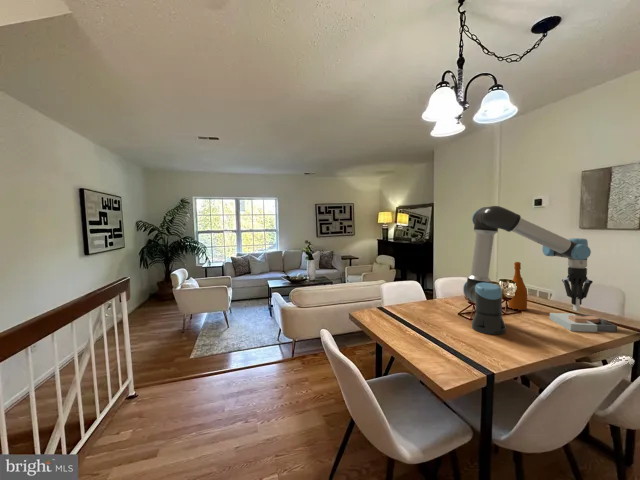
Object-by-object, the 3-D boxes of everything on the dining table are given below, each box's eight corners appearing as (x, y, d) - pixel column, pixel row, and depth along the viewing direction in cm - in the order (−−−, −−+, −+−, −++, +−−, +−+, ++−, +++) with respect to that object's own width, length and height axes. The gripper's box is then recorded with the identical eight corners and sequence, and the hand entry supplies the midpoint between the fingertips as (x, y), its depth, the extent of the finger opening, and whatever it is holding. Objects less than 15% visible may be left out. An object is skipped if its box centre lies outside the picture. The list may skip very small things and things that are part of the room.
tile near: (575, 322, 139) (575, 318, 139) (568, 319, 144) (568, 315, 144) (586, 322, 138) (586, 318, 138) (579, 319, 143) (579, 315, 143)
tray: (596, 331, 136) (596, 325, 136) (573, 319, 152) (573, 314, 152) (617, 331, 134) (617, 325, 134) (592, 320, 150) (592, 315, 150)
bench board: (570, 330, 137) (570, 324, 137) (549, 318, 155) (549, 312, 154) (597, 332, 134) (597, 325, 134) (572, 319, 152) (572, 313, 152)
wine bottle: (530, 311, 169) (530, 262, 168) (512, 310, 171) (512, 263, 170) (522, 306, 179) (522, 260, 177) (505, 306, 181) (505, 261, 179)
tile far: (599, 318, 144) (599, 322, 144) (592, 315, 149) (592, 319, 149) (587, 319, 145) (588, 323, 145) (581, 316, 150) (582, 320, 150)
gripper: (567, 268, 145) (566, 311, 146) (597, 268, 142) (595, 313, 143) (558, 266, 152) (557, 307, 153) (586, 266, 149) (585, 309, 150)
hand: (576, 310), depth 148 cm, fingers closed
